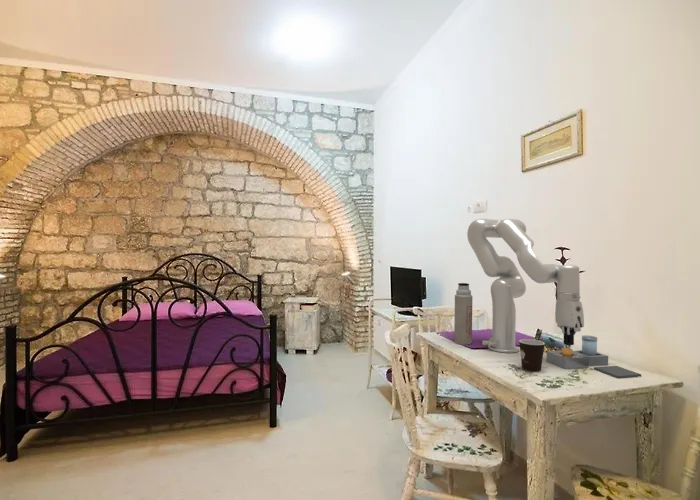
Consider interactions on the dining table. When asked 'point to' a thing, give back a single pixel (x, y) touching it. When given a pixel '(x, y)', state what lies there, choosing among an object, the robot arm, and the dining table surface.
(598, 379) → the dining table surface
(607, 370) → the rubber mat
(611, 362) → the dining table surface
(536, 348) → the coffee mug
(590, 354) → the cylinder
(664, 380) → the dining table surface
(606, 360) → the gray square tray
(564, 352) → the plunger button
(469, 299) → the thermos bottle
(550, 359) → the block
